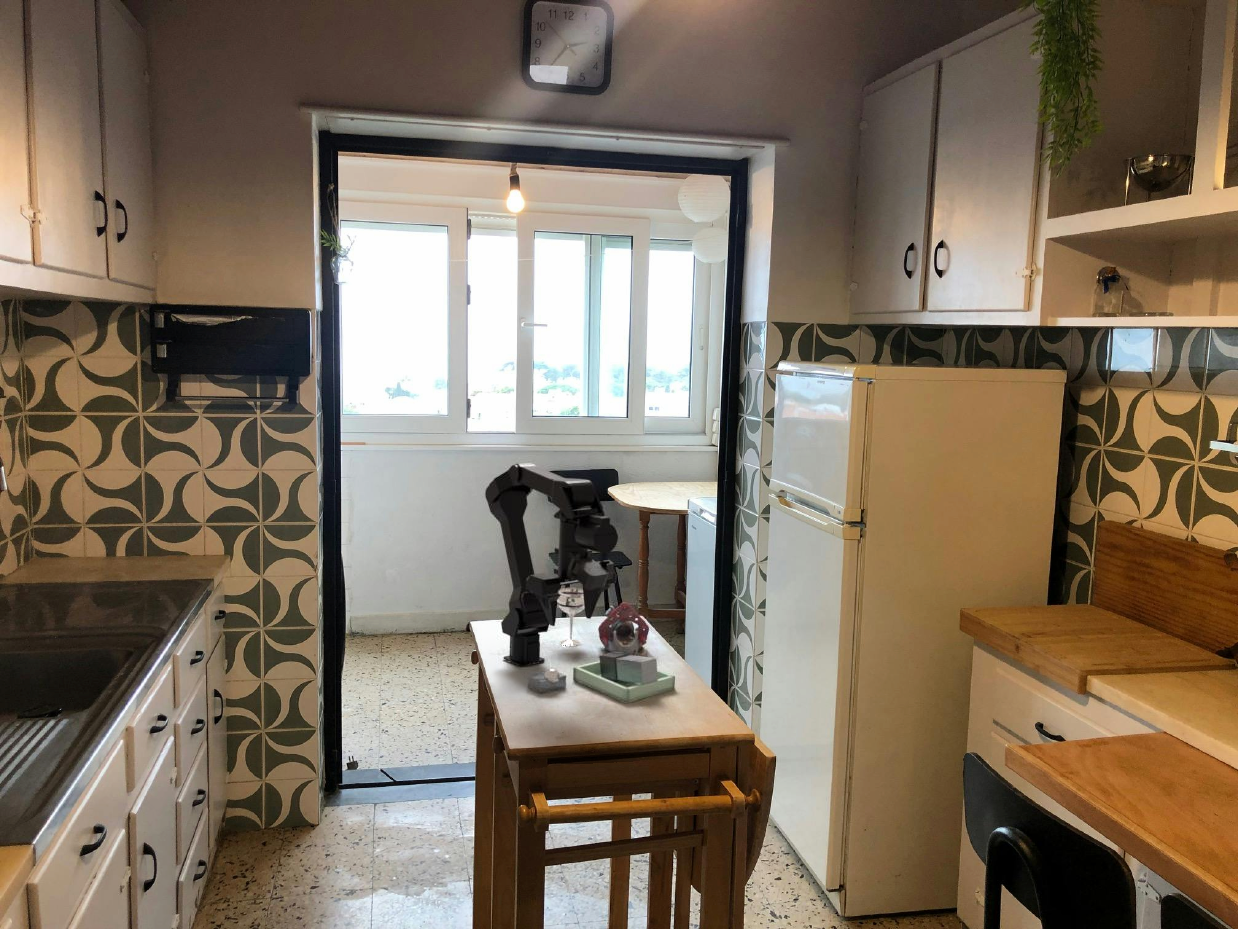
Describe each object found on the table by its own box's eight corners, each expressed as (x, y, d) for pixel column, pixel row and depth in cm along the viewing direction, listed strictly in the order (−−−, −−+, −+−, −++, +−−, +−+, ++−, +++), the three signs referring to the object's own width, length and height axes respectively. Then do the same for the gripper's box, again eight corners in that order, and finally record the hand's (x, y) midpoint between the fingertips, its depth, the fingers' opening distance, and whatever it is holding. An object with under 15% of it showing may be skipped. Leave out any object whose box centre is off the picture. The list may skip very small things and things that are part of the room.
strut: (601, 677, 191) (599, 655, 191) (617, 673, 194) (616, 651, 194) (642, 684, 182) (640, 660, 182) (658, 679, 185) (657, 656, 185)
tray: (572, 679, 191) (573, 667, 191) (620, 667, 200) (621, 655, 199) (626, 703, 179) (626, 689, 179) (674, 689, 188) (675, 676, 188)
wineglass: (589, 646, 213) (591, 594, 211) (559, 648, 211) (561, 595, 209) (581, 638, 219) (583, 587, 218) (552, 639, 217) (554, 588, 216)
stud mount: (527, 687, 186) (528, 667, 185) (551, 681, 190) (552, 661, 189) (543, 695, 182) (544, 674, 181) (568, 688, 186) (568, 668, 185)
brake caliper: (601, 649, 203) (599, 597, 209) (595, 666, 213) (593, 616, 219) (654, 649, 205) (650, 597, 211) (645, 666, 214) (641, 616, 220)
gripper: (562, 557, 174) (559, 640, 175) (636, 546, 186) (633, 624, 188) (525, 546, 182) (523, 625, 184) (599, 536, 194) (596, 611, 196)
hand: (570, 621), depth 188 cm, fingers open, 9 cm apart
